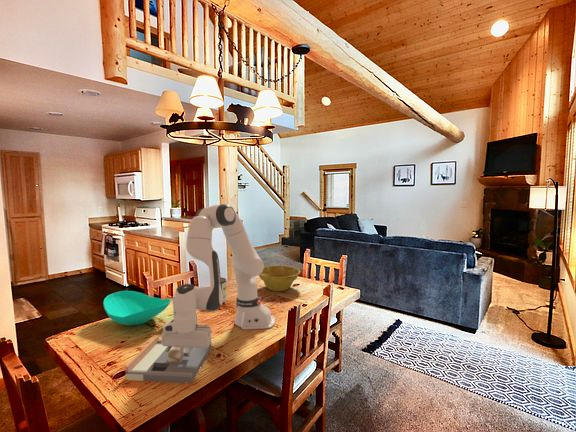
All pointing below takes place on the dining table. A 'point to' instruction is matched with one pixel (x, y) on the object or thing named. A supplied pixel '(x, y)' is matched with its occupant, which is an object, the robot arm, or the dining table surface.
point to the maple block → (175, 354)
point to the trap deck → (165, 364)
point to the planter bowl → (279, 277)
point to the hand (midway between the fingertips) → (186, 355)
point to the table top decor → (133, 307)
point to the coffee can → (223, 288)
